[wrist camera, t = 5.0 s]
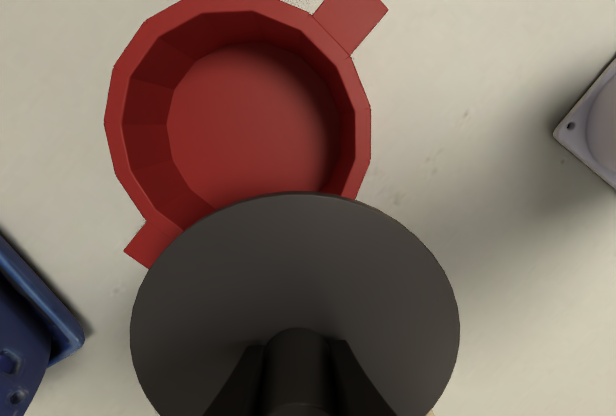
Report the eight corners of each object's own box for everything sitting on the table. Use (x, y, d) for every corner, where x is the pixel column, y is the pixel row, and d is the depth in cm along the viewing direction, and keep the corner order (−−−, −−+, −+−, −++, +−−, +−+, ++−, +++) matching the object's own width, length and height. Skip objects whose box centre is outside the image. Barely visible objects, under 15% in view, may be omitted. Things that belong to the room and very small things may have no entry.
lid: (83, 347, 13) (-26, 460, 9) (283, 112, 11) (273, 102, 6) (307, 484, 16) (311, 623, 11) (506, 320, 14) (608, 416, 9)
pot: (97, 175, 20) (24, 194, 14) (272, -62, 17) (259, -150, 11) (244, 285, 22) (228, 335, 17) (420, 97, 19) (467, 87, 14)
